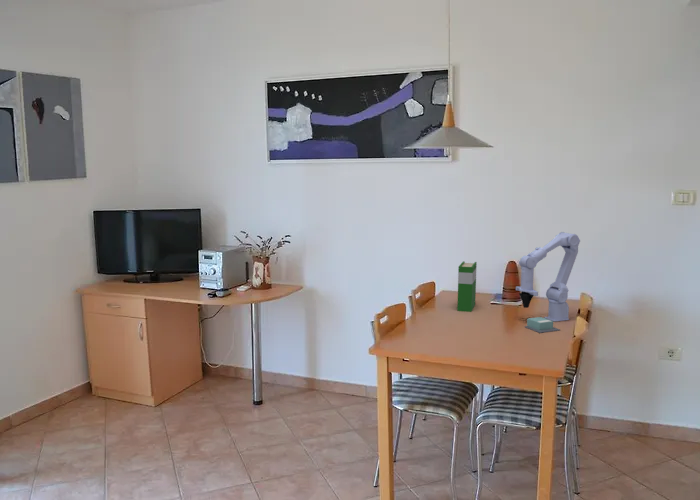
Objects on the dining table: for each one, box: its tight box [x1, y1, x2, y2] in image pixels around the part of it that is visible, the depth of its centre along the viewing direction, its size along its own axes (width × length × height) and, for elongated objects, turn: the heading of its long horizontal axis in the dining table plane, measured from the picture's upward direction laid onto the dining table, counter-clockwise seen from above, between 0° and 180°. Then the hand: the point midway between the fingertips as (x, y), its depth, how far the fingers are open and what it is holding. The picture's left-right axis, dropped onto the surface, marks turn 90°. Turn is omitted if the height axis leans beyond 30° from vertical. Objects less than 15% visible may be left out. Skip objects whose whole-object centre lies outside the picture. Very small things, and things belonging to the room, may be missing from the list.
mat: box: [524, 325, 561, 334], centre depth 290 cm, size 12×11×1 cm
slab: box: [526, 316, 554, 330], centre depth 291 cm, size 8×4×9 cm
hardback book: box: [456, 261, 477, 313], centre depth 330 cm, size 18×7×24 cm, turn 162°
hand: (526, 307), depth 300 cm, fingers closed
